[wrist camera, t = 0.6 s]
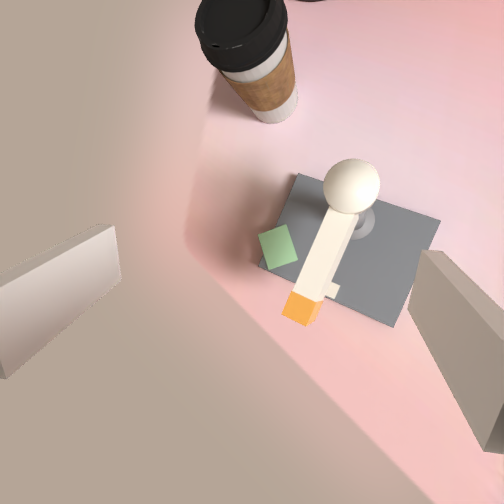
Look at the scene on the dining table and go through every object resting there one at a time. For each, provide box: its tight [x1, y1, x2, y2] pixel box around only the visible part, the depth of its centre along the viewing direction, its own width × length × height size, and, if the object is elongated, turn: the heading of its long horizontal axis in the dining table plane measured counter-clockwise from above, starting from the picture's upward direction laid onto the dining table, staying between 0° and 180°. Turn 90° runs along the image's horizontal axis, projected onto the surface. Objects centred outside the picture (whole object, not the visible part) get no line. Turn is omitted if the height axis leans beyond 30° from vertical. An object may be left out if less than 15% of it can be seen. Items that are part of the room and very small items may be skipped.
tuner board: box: [258, 173, 441, 328], centre depth 37 cm, size 12×18×2 cm
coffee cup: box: [195, 0, 298, 124], centre depth 35 cm, size 8×8×15 cm
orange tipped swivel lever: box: [282, 159, 380, 326], centre depth 30 cm, size 13×4×12 cm, turn 155°
